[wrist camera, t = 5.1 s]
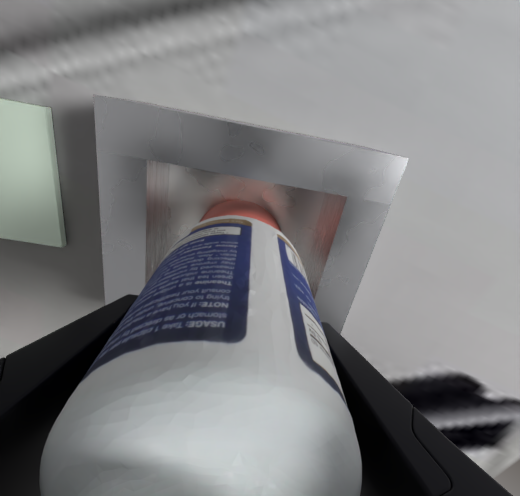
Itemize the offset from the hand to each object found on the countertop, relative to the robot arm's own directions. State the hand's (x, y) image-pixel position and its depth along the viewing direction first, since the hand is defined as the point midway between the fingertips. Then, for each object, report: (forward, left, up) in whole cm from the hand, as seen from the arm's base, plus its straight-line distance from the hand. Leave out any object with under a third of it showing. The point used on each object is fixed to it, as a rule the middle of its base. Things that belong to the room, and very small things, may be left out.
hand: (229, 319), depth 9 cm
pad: (+1, +13, -7) cm, 15 cm away
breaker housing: (0, 0, -7) cm, 7 cm away
